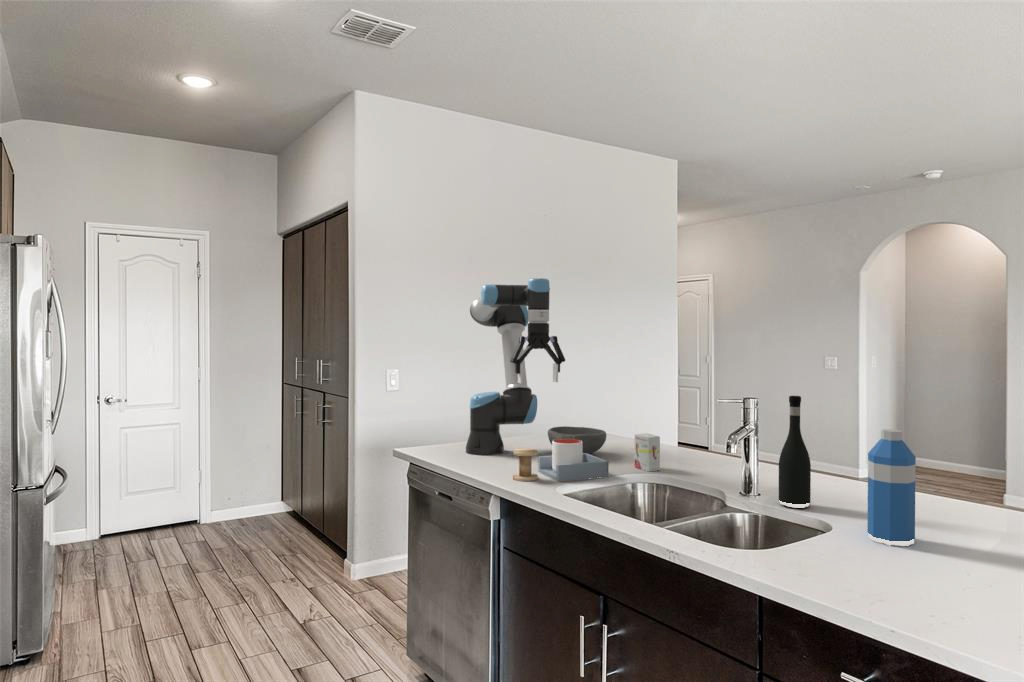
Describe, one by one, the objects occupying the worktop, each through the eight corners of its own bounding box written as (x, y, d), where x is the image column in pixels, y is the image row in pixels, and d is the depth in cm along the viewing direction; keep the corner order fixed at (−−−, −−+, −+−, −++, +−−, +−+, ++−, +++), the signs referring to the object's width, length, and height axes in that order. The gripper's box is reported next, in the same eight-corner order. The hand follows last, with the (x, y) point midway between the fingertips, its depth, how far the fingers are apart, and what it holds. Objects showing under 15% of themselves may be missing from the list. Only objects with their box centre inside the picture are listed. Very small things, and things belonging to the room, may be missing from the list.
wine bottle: (786, 500, 185) (786, 394, 184) (815, 505, 179) (815, 396, 179) (773, 505, 179) (774, 395, 179) (803, 511, 174) (803, 398, 173)
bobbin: (509, 476, 215) (509, 449, 215) (531, 475, 218) (532, 447, 218) (518, 482, 207) (518, 453, 207) (541, 480, 210) (541, 452, 210)
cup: (582, 468, 222) (582, 439, 222) (582, 474, 212) (582, 444, 212) (552, 467, 223) (552, 438, 223) (551, 474, 213) (551, 443, 213)
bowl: (610, 461, 242) (610, 433, 242) (548, 460, 242) (548, 433, 242) (602, 449, 265) (602, 425, 265) (546, 449, 265) (546, 424, 265)
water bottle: (914, 549, 143) (915, 435, 143) (866, 542, 148) (866, 431, 148) (915, 538, 151) (915, 429, 151) (868, 531, 156) (869, 426, 156)
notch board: (538, 471, 223) (538, 456, 223) (585, 467, 229) (585, 453, 229) (558, 481, 208) (558, 465, 208) (608, 477, 214) (608, 461, 214)
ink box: (633, 467, 230) (633, 433, 230) (645, 466, 233) (645, 432, 232) (648, 472, 223) (648, 437, 222) (660, 470, 225) (660, 436, 225)
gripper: (509, 322, 224) (508, 384, 224) (575, 322, 233) (574, 382, 234) (501, 322, 230) (501, 382, 231) (565, 322, 240) (564, 380, 241)
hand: (537, 382), depth 233 cm, fingers open, 13 cm apart
